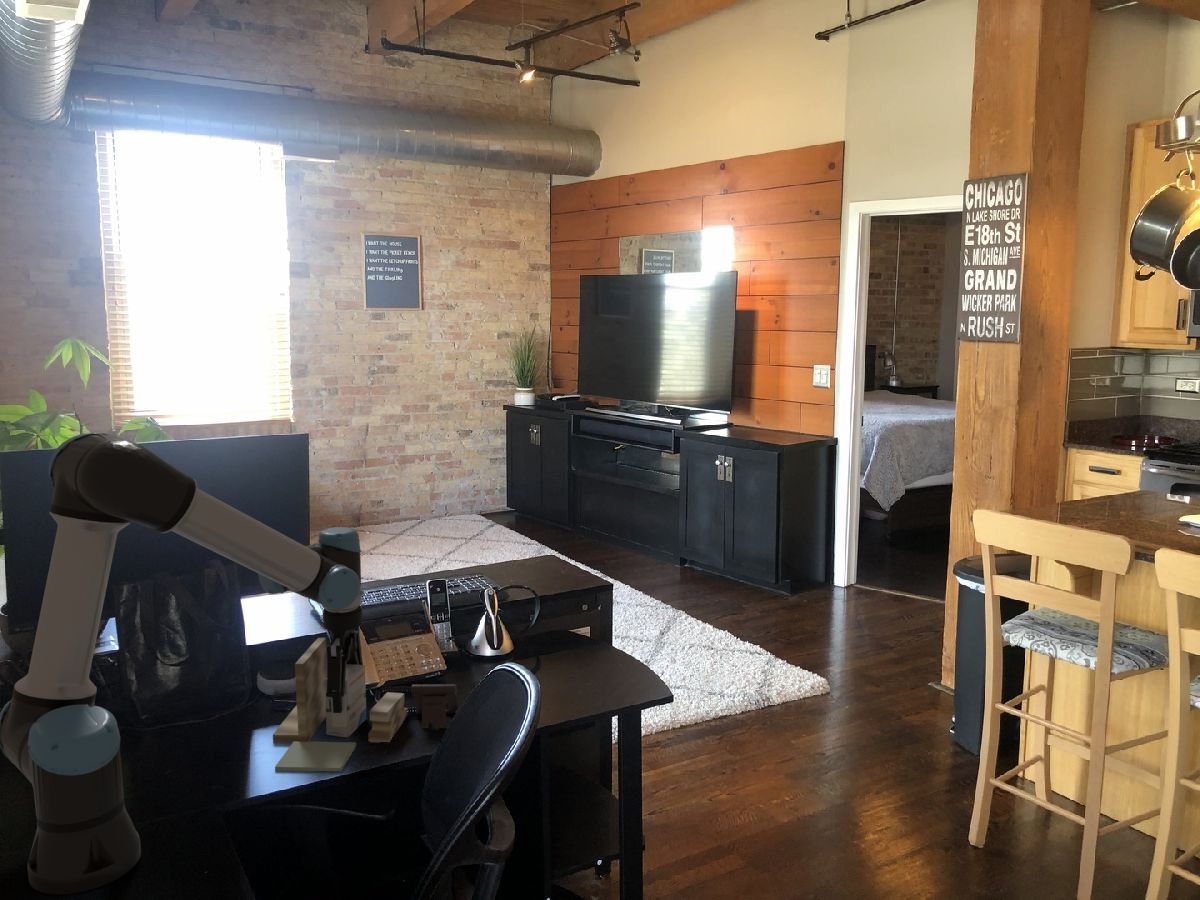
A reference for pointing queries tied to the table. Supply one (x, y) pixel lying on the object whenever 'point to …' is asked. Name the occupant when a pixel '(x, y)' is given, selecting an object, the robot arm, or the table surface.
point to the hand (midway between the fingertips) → (347, 715)
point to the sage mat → (316, 756)
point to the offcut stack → (387, 717)
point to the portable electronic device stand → (435, 702)
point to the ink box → (350, 702)
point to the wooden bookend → (307, 696)
